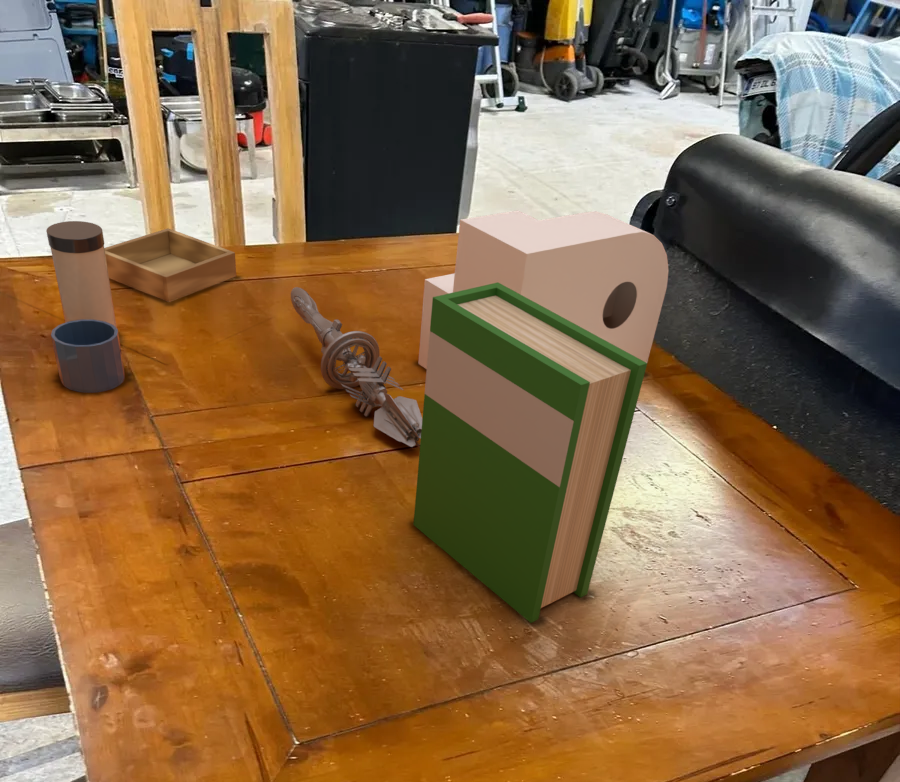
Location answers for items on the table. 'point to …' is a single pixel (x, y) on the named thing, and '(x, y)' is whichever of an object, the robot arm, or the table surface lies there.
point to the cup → (88, 355)
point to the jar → (81, 271)
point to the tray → (169, 264)
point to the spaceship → (361, 373)
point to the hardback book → (521, 443)
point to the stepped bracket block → (564, 272)
